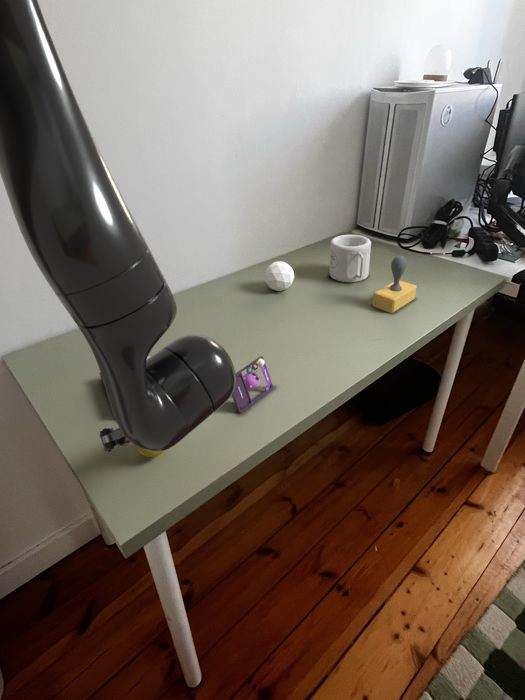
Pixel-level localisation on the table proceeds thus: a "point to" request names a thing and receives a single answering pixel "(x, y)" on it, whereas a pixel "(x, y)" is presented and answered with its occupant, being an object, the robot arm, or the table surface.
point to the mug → (349, 258)
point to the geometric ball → (279, 276)
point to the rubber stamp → (395, 289)
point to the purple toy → (249, 384)
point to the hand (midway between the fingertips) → (150, 427)
